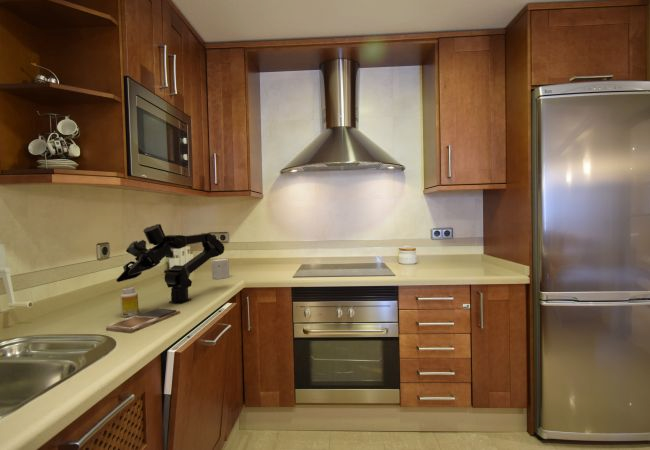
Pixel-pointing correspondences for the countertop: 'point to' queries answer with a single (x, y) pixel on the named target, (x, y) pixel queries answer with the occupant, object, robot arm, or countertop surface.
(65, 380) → the countertop surface
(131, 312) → the supplement bottle
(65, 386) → the countertop surface
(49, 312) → the countertop surface
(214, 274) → the small box
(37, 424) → the countertop surface
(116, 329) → the board
